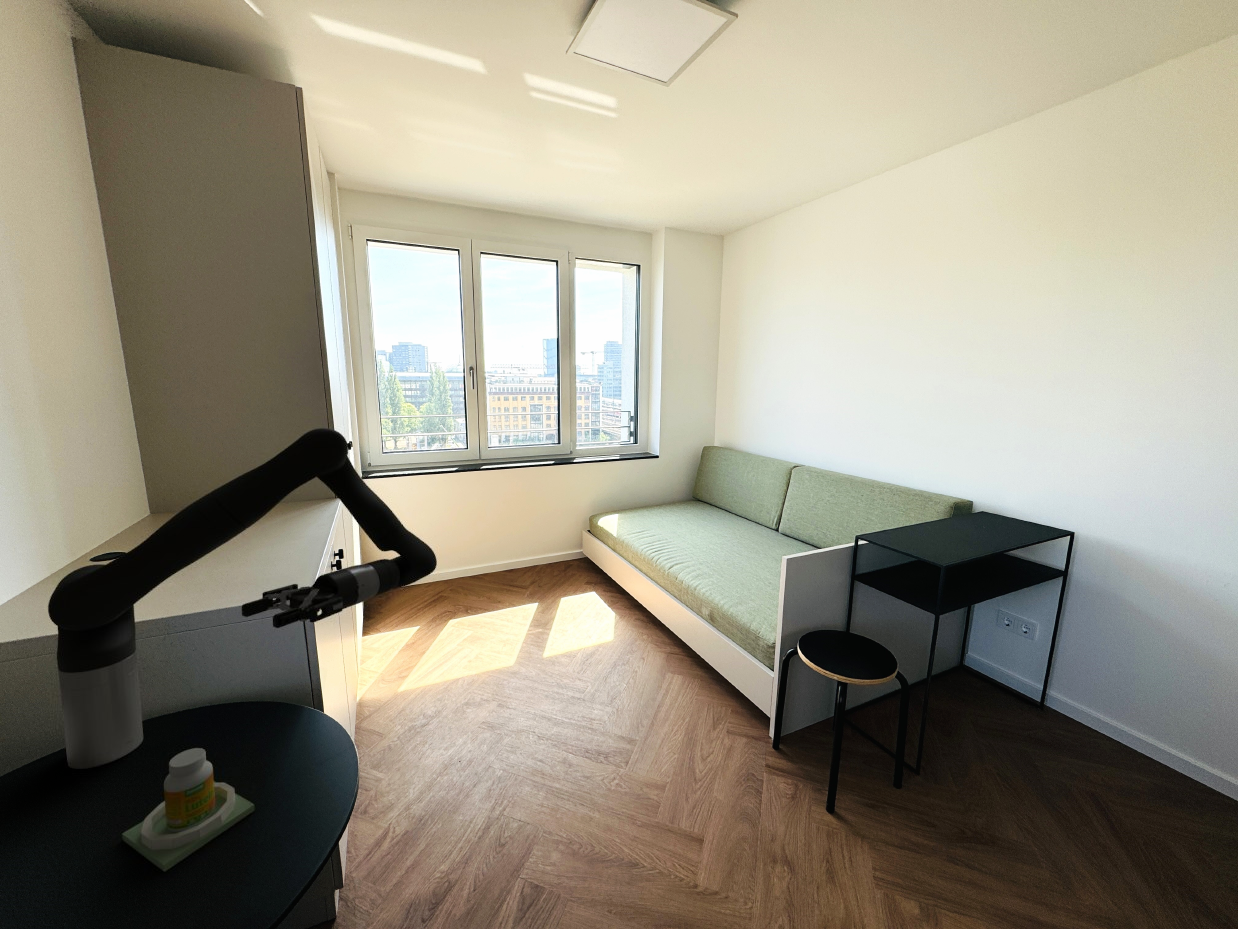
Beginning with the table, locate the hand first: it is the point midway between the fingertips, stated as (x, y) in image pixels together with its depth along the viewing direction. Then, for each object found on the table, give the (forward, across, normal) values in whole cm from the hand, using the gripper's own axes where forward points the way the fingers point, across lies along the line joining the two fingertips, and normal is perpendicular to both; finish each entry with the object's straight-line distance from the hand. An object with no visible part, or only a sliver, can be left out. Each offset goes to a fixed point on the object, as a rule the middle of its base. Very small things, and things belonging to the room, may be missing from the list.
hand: (258, 616), depth 80 cm
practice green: (+11, +3, +27) cm, 30 cm away
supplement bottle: (+11, +3, +26) cm, 29 cm away
